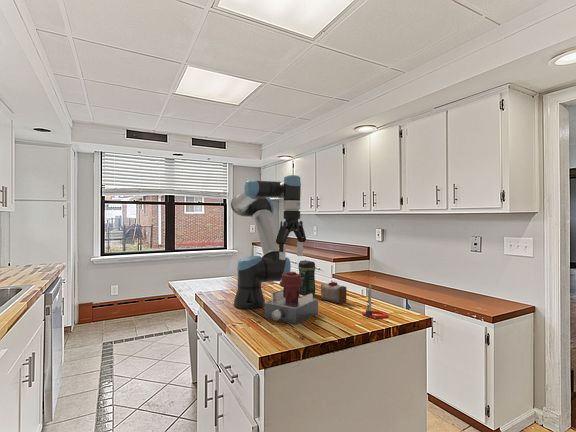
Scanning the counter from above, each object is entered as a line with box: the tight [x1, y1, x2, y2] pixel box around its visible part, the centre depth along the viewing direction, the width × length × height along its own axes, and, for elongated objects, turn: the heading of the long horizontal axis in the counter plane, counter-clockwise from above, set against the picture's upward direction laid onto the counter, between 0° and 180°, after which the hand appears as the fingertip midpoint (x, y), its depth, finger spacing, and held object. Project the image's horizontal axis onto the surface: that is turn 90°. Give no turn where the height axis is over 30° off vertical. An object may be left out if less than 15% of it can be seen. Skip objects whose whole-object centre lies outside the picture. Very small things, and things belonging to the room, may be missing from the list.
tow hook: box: [361, 284, 388, 320], centre depth 143 cm, size 9×14×10 cm
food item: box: [320, 281, 348, 305], centre depth 168 cm, size 14×8×10 cm, turn 43°
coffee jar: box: [298, 259, 316, 296], centre depth 183 cm, size 10×8×19 cm
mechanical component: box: [279, 271, 303, 303], centre depth 142 cm, size 12×10×10 cm
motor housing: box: [264, 289, 319, 326], centre depth 141 cm, size 16×21×10 cm
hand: (291, 257), depth 146 cm, fingers open, 13 cm apart
